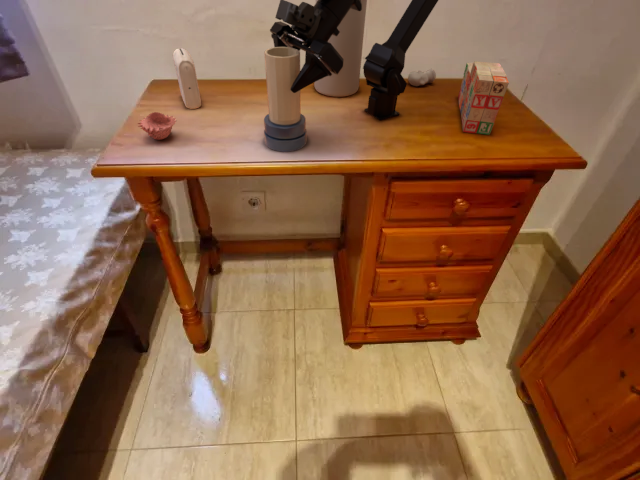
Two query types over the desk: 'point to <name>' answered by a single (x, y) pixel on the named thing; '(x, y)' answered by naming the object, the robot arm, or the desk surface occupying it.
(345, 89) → the cylinder vase
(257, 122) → the desk surface
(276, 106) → the cup
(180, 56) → the photo printer
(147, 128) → the pink clay bowl
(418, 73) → the smooth white sculpture
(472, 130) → the stack of blocks
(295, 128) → the round ridged metallic base
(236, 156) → the desk surface
